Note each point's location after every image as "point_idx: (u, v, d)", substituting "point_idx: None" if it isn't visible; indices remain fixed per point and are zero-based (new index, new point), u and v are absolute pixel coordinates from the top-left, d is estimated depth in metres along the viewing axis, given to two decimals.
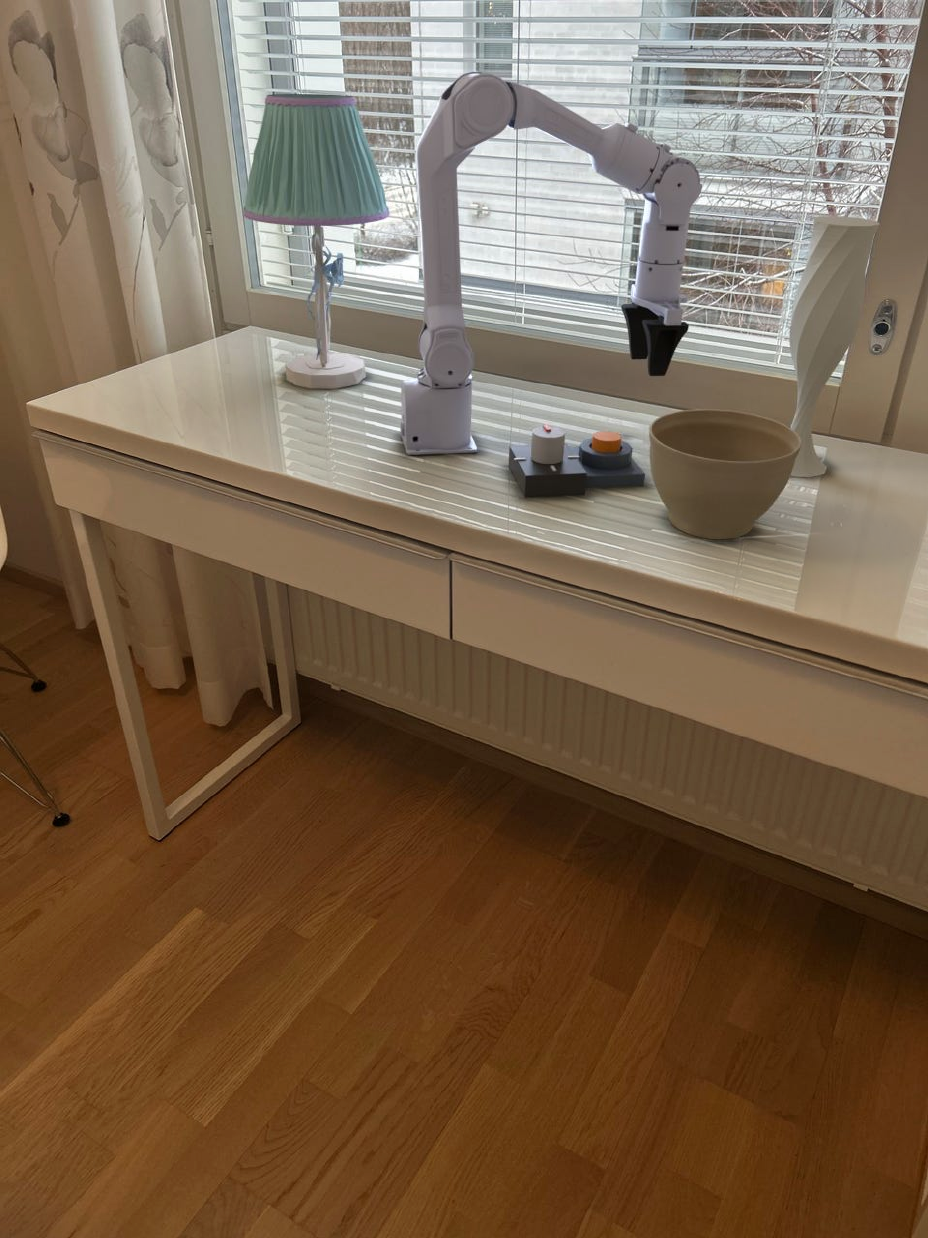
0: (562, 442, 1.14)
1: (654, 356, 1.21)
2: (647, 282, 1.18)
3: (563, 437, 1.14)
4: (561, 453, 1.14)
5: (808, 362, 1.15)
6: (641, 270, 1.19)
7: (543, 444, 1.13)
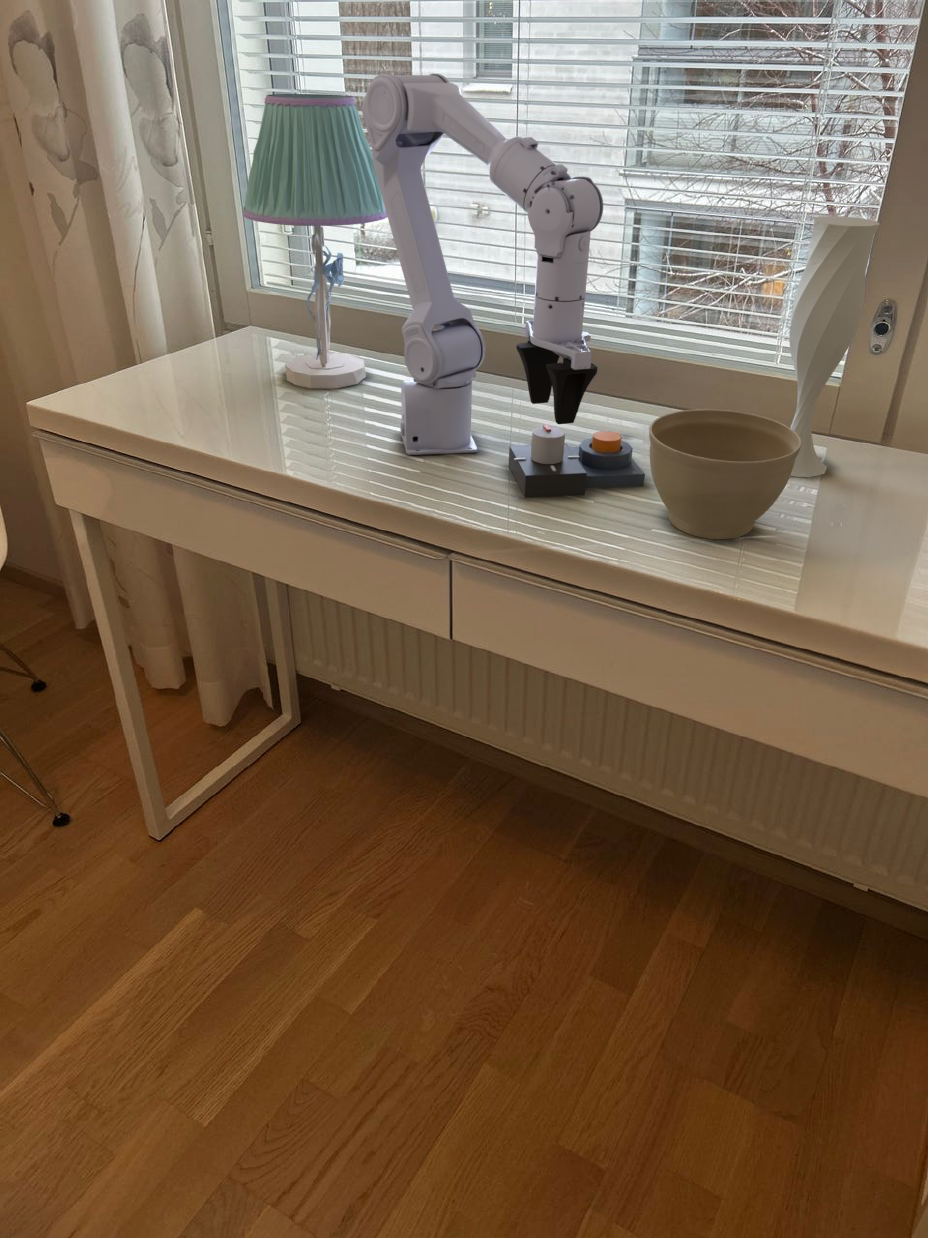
0: (562, 442, 1.14)
1: (561, 403, 1.08)
2: (547, 321, 1.05)
3: (563, 437, 1.14)
4: (561, 453, 1.14)
5: (808, 362, 1.15)
6: (539, 308, 1.05)
7: (543, 444, 1.13)
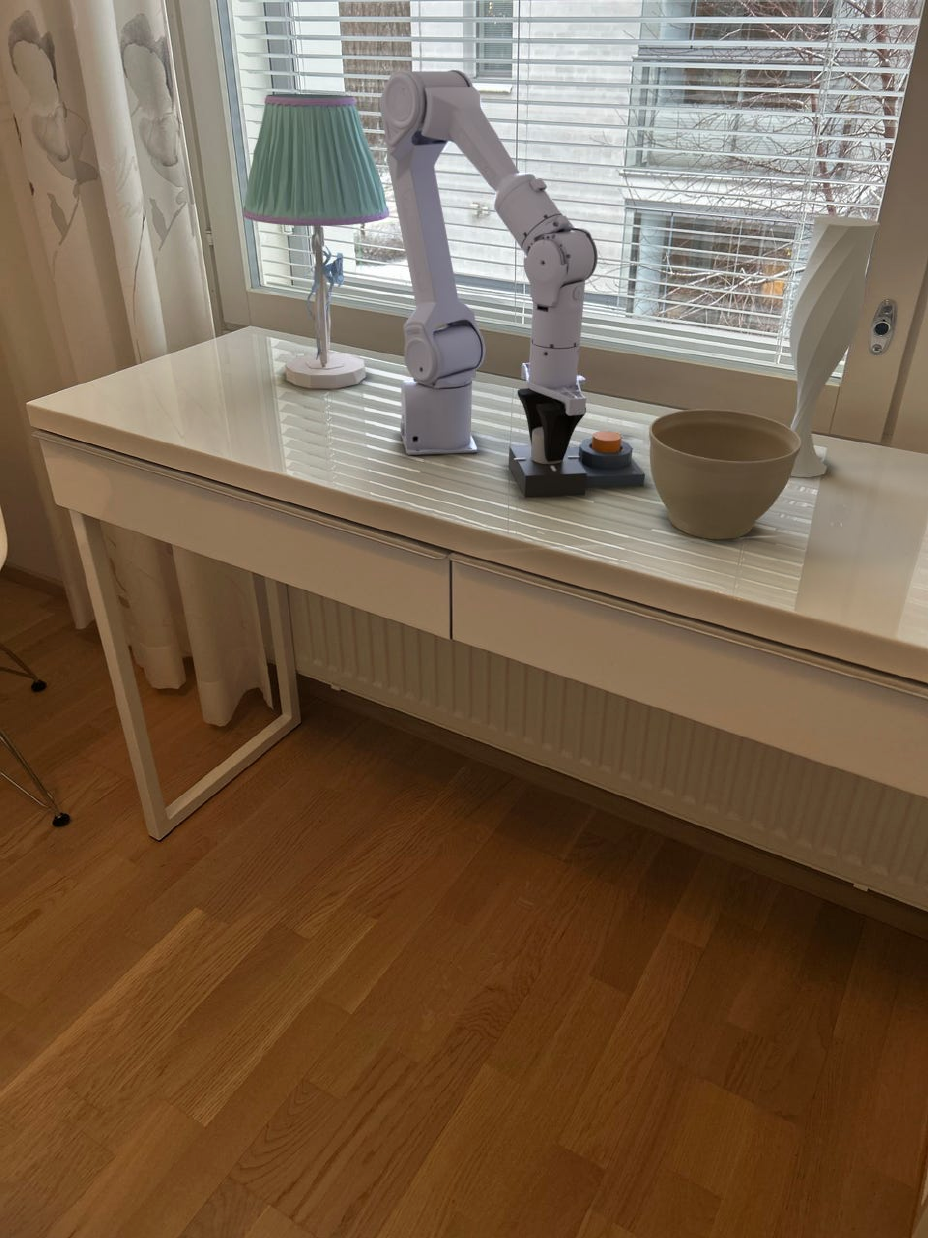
0: None
1: (551, 441, 1.12)
2: (543, 367, 1.08)
3: None
4: None
5: (808, 362, 1.15)
6: (535, 354, 1.08)
7: (543, 444, 1.13)
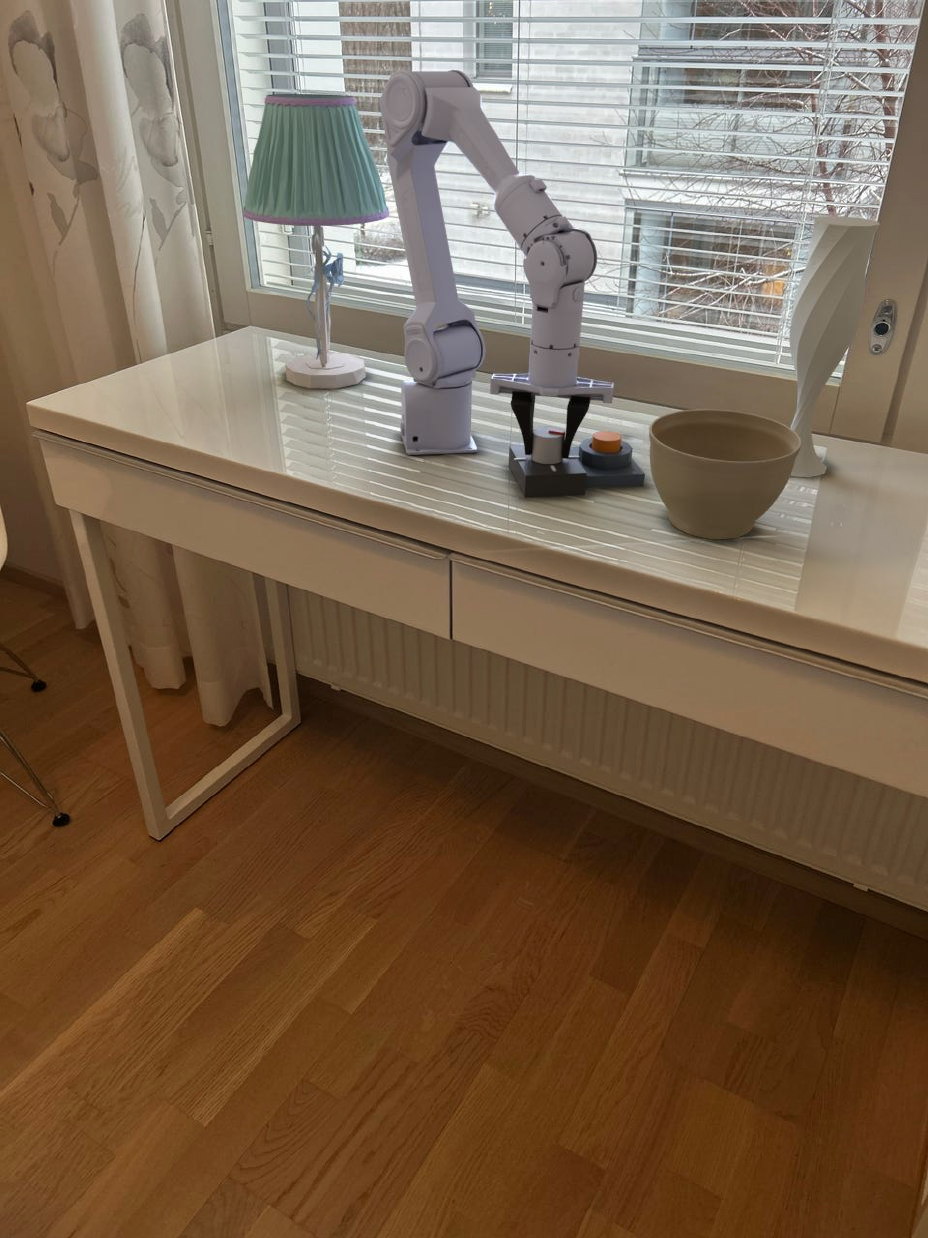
0: (534, 441, 1.14)
1: None
2: None
3: (535, 437, 1.13)
4: (533, 451, 1.15)
5: (808, 362, 1.15)
6: None
7: None
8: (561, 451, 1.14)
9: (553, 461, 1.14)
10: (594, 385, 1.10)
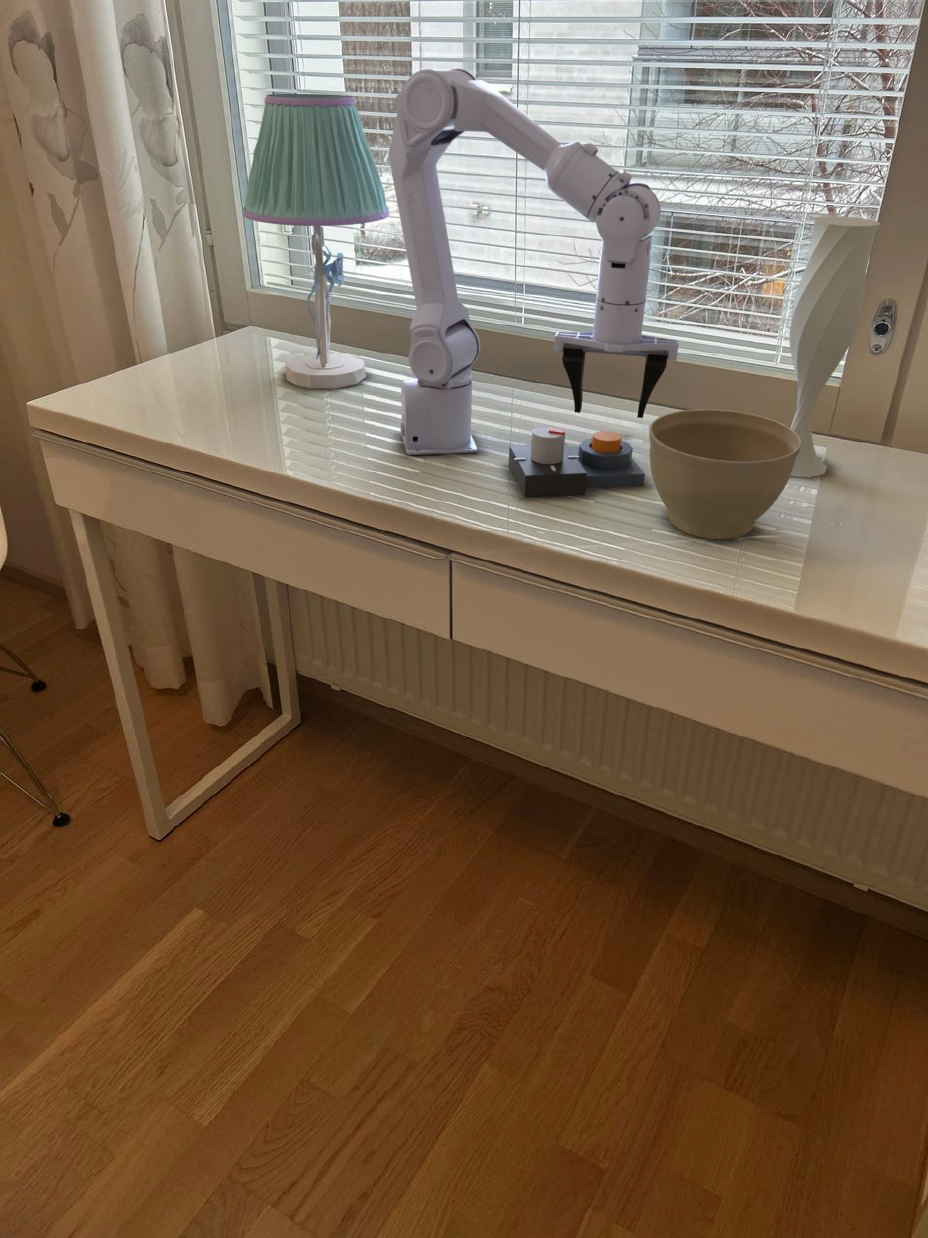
0: (534, 441, 1.14)
1: None
2: None
3: (535, 437, 1.13)
4: (533, 451, 1.15)
5: (809, 362, 1.15)
6: None
7: None
8: (561, 451, 1.14)
9: (553, 461, 1.14)
10: (659, 342, 1.11)
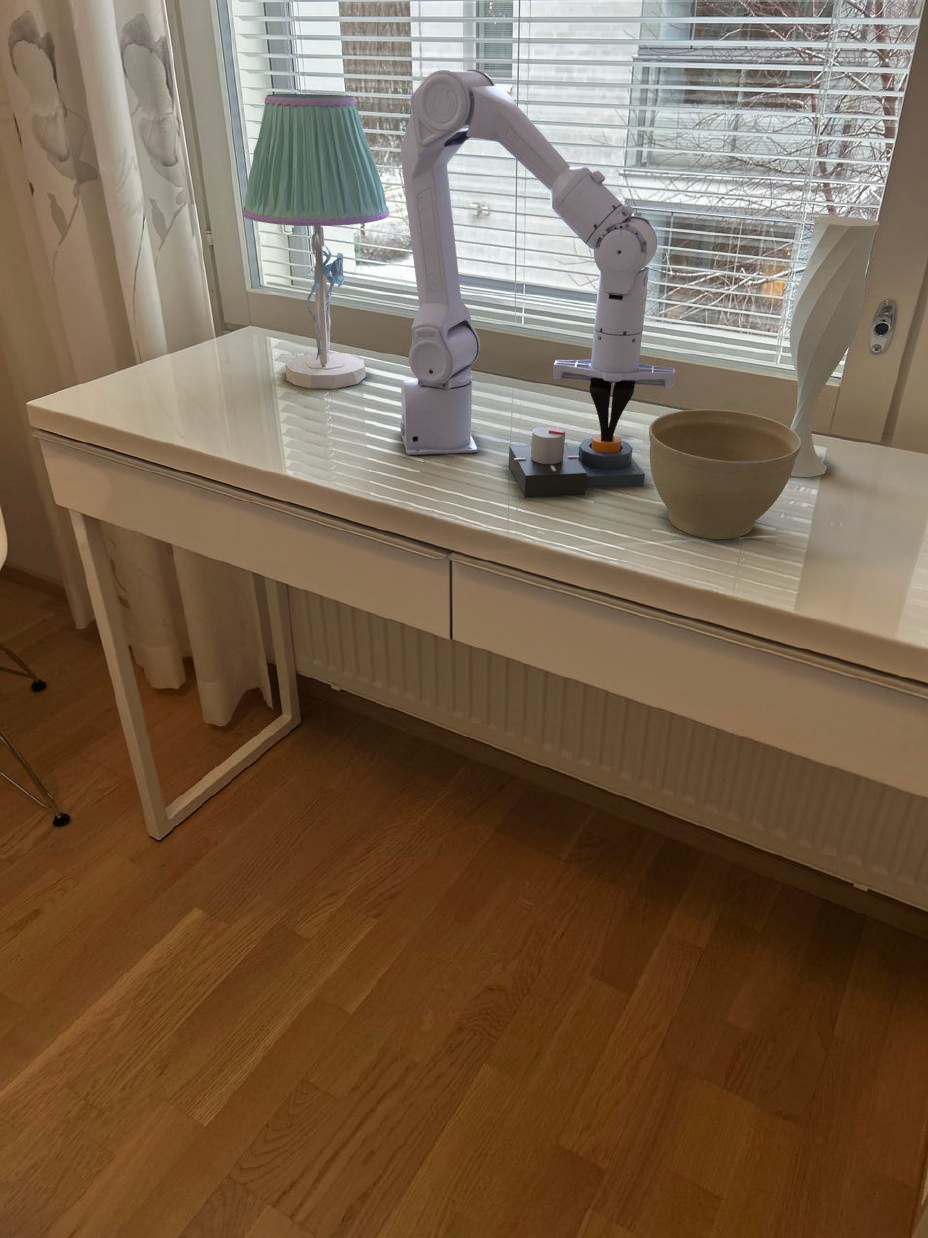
0: (534, 441, 1.14)
1: None
2: None
3: (535, 437, 1.13)
4: (533, 451, 1.15)
5: (809, 362, 1.15)
6: None
7: None
8: (561, 451, 1.14)
9: (553, 461, 1.14)
10: (656, 371, 1.12)
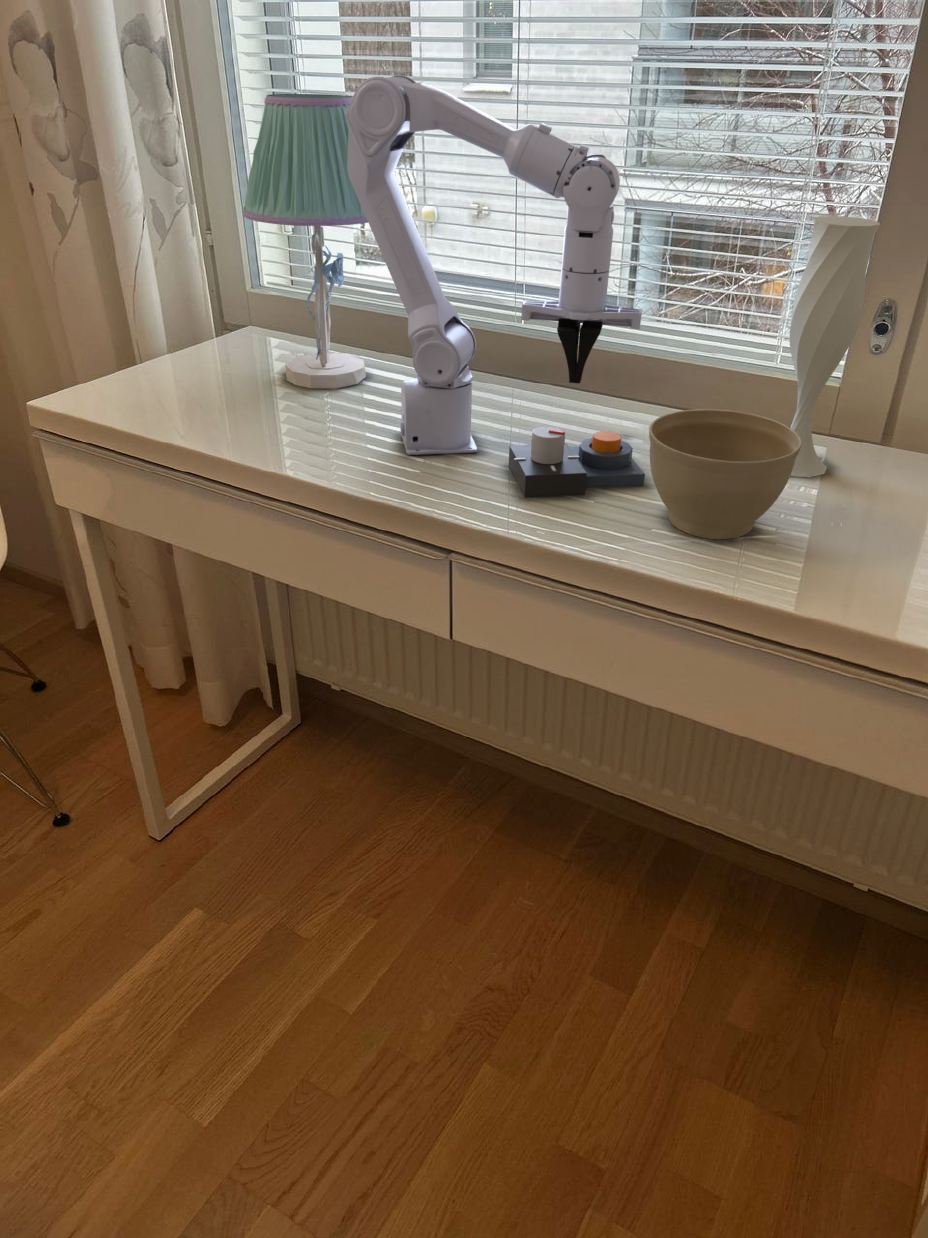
0: (534, 441, 1.14)
1: None
2: None
3: (535, 437, 1.13)
4: (533, 451, 1.15)
5: (809, 362, 1.15)
6: None
7: None
8: (561, 451, 1.14)
9: (553, 461, 1.14)
10: (622, 311, 1.14)
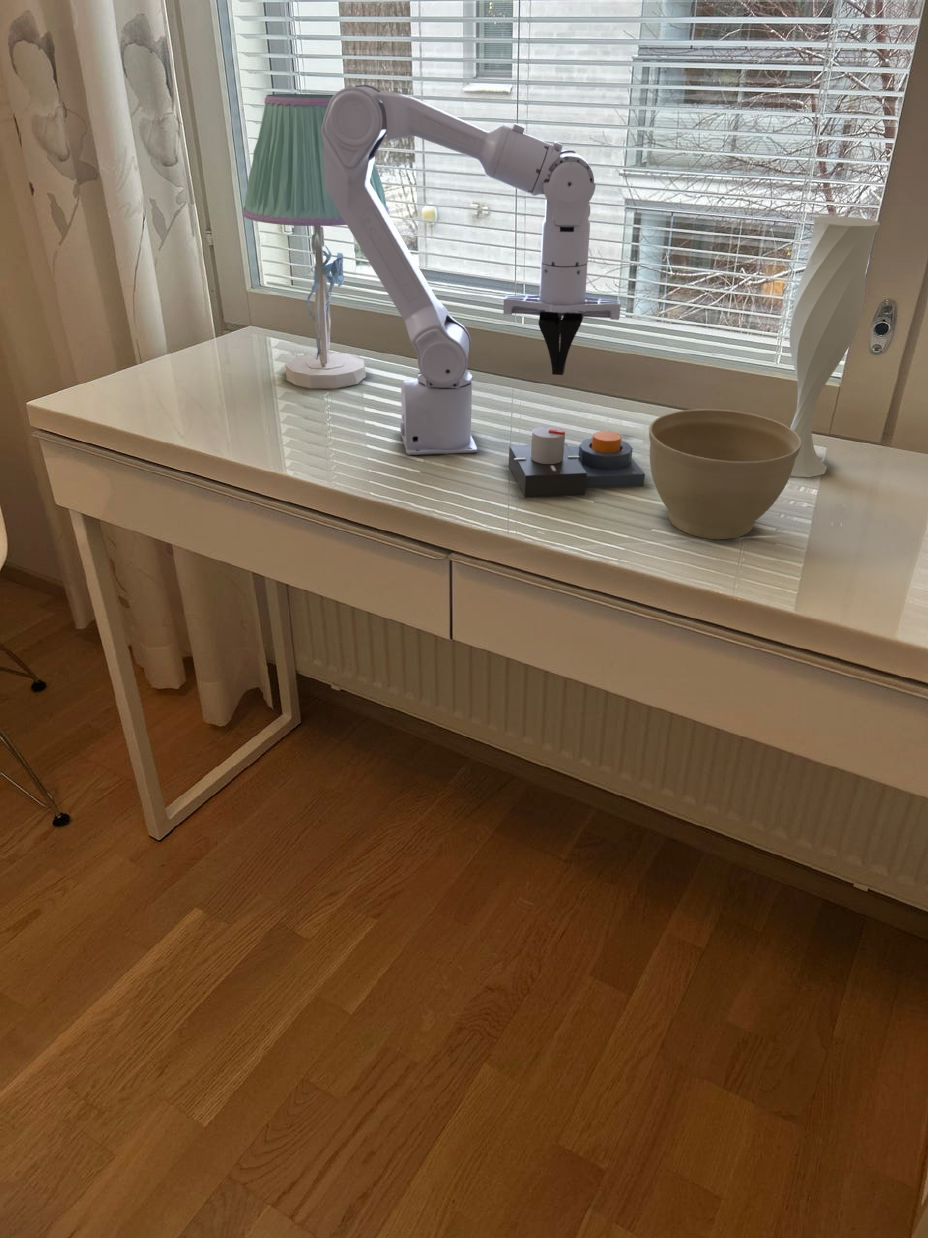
0: (534, 441, 1.14)
1: None
2: None
3: (535, 437, 1.13)
4: (533, 451, 1.15)
5: (809, 362, 1.15)
6: None
7: None
8: (561, 451, 1.14)
9: (553, 461, 1.14)
10: (602, 303, 1.16)
